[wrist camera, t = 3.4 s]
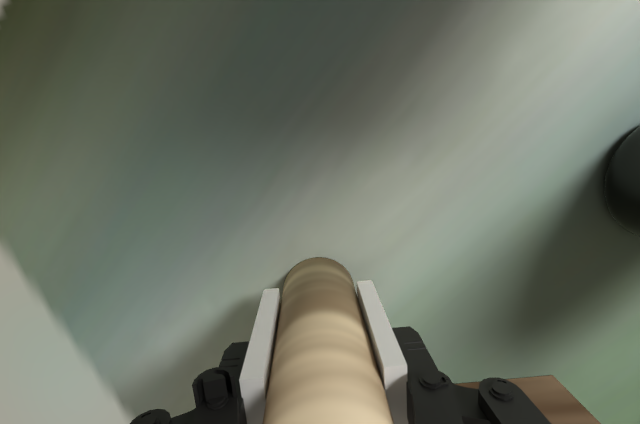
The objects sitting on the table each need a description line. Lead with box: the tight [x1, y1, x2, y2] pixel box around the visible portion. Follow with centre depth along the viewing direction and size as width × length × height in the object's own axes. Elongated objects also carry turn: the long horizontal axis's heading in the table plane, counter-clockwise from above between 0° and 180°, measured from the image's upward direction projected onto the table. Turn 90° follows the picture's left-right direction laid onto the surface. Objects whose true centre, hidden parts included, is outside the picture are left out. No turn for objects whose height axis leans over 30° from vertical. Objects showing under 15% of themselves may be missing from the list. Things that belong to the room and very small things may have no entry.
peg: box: [263, 257, 394, 424], centre depth 14 cm, size 4×4×12 cm
